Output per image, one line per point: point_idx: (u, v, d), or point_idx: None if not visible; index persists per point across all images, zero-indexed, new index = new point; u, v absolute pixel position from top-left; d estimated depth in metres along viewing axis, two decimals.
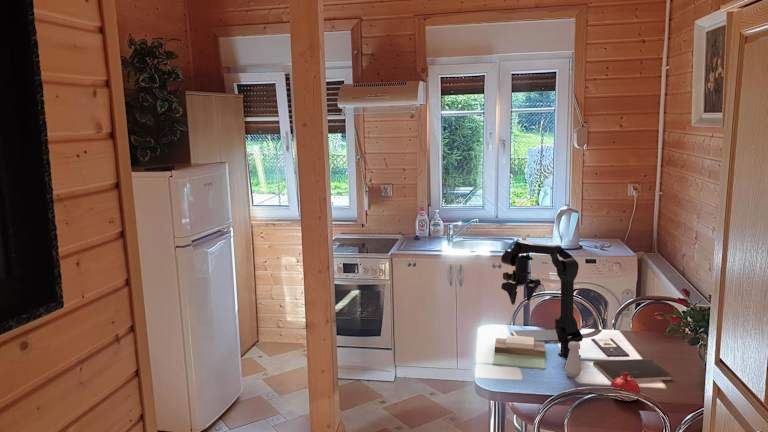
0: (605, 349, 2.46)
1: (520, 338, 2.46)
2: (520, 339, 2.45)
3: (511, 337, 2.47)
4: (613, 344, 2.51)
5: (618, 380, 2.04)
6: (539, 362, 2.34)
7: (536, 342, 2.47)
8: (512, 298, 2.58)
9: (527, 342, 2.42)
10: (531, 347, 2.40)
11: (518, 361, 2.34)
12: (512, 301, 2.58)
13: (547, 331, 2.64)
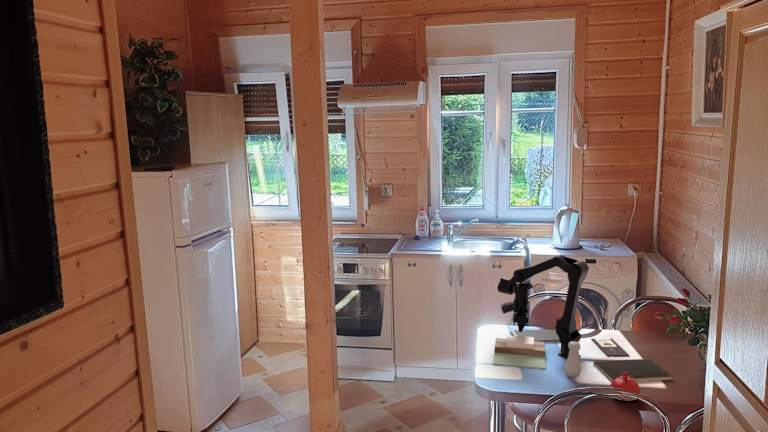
0: (605, 349, 2.46)
1: (520, 338, 2.46)
2: (520, 339, 2.45)
3: (511, 337, 2.47)
4: (613, 344, 2.51)
5: (618, 380, 2.04)
6: (539, 362, 2.34)
7: (536, 342, 2.47)
8: (522, 325, 2.52)
9: (527, 342, 2.42)
10: (531, 347, 2.40)
11: (518, 361, 2.34)
12: (521, 328, 2.53)
13: (547, 331, 2.64)
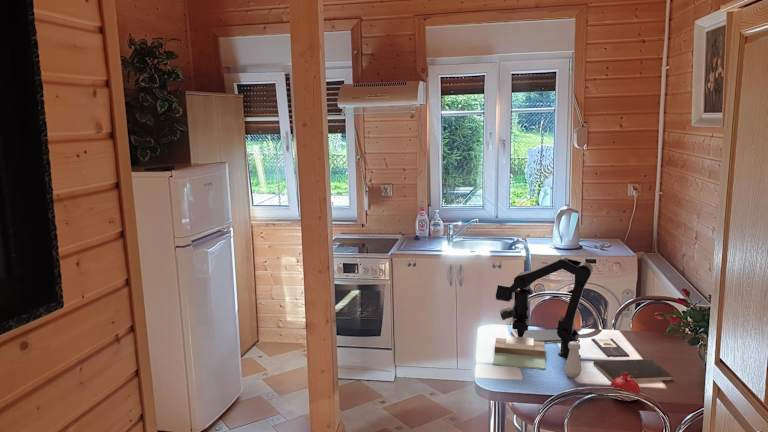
0: (605, 349, 2.46)
1: (519, 339, 2.45)
2: (520, 340, 2.44)
3: (511, 338, 2.46)
4: (613, 344, 2.51)
5: (618, 380, 2.04)
6: (539, 362, 2.34)
7: (536, 342, 2.47)
8: (521, 332, 2.47)
9: (527, 343, 2.41)
10: (531, 348, 2.39)
11: (518, 361, 2.34)
12: (520, 335, 2.48)
13: (547, 331, 2.65)
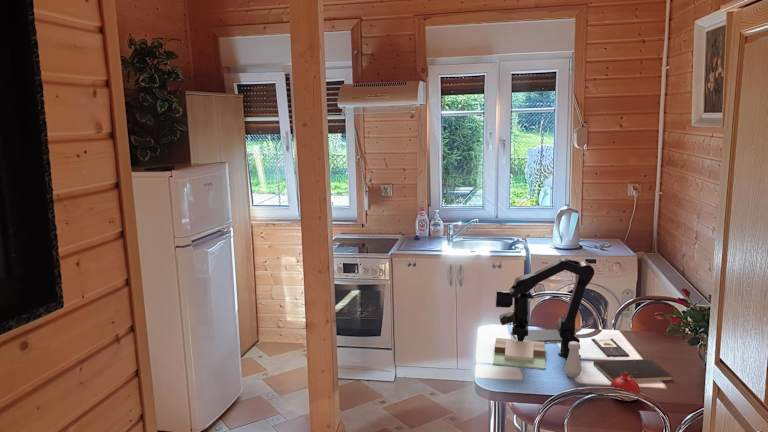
0: (605, 349, 2.46)
1: (519, 347, 2.39)
2: (520, 347, 2.38)
3: (510, 344, 2.40)
4: (613, 344, 2.51)
5: (618, 380, 2.04)
6: (539, 362, 2.34)
7: (536, 342, 2.47)
8: (521, 338, 2.41)
9: (526, 354, 2.35)
10: (530, 359, 2.35)
11: (518, 361, 2.34)
12: None
13: (547, 331, 2.65)
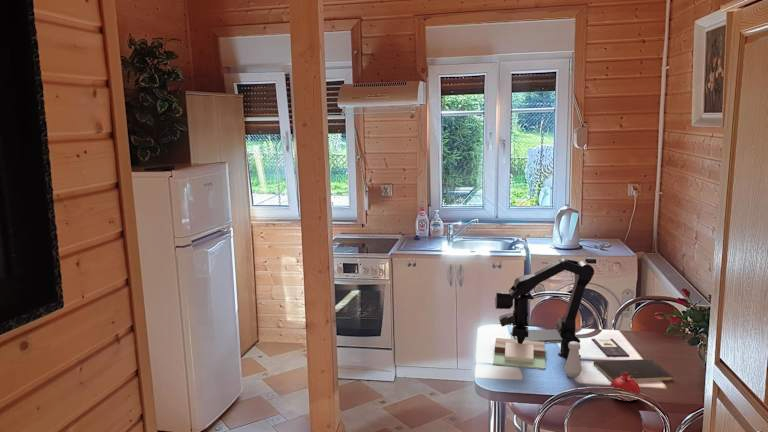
0: (605, 349, 2.46)
1: (519, 349, 2.38)
2: (520, 349, 2.37)
3: (510, 346, 2.39)
4: (613, 344, 2.51)
5: (618, 380, 2.04)
6: (539, 362, 2.34)
7: (536, 342, 2.47)
8: (521, 339, 2.39)
9: (526, 355, 2.34)
10: (531, 361, 2.33)
11: (518, 361, 2.34)
12: (520, 342, 2.40)
13: (547, 331, 2.65)
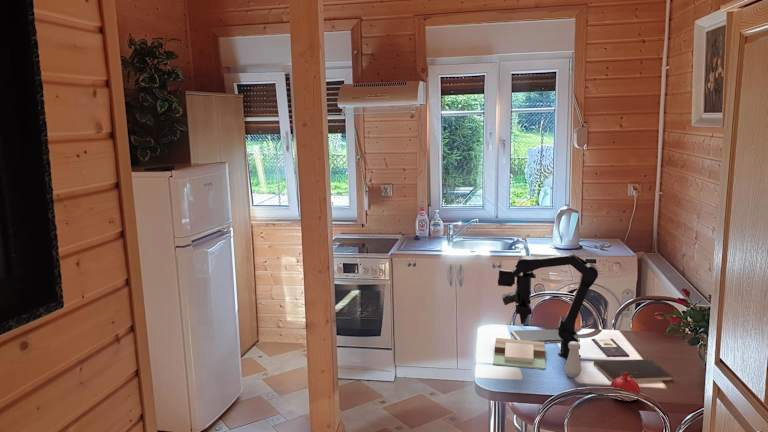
0: (605, 349, 2.46)
1: (519, 349, 2.38)
2: (520, 349, 2.37)
3: (510, 346, 2.39)
4: (613, 344, 2.51)
5: (618, 380, 2.04)
6: (539, 362, 2.34)
7: (536, 342, 2.47)
8: (524, 317, 2.42)
9: (526, 355, 2.34)
10: (531, 361, 2.33)
11: (518, 361, 2.34)
12: (523, 320, 2.42)
13: (547, 331, 2.65)
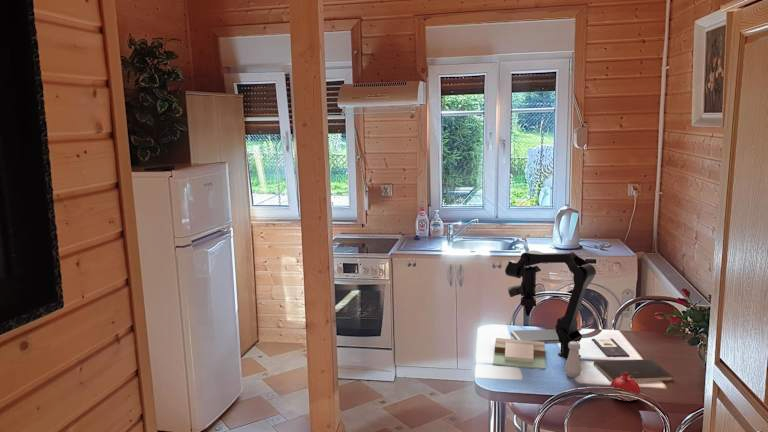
0: (605, 349, 2.46)
1: (519, 349, 2.38)
2: (520, 349, 2.37)
3: (510, 346, 2.39)
4: (613, 344, 2.51)
5: (618, 380, 2.04)
6: (539, 362, 2.34)
7: (536, 342, 2.47)
8: (529, 309, 2.51)
9: (526, 355, 2.34)
10: (531, 361, 2.33)
11: (518, 361, 2.34)
12: (528, 312, 2.52)
13: (546, 331, 2.65)
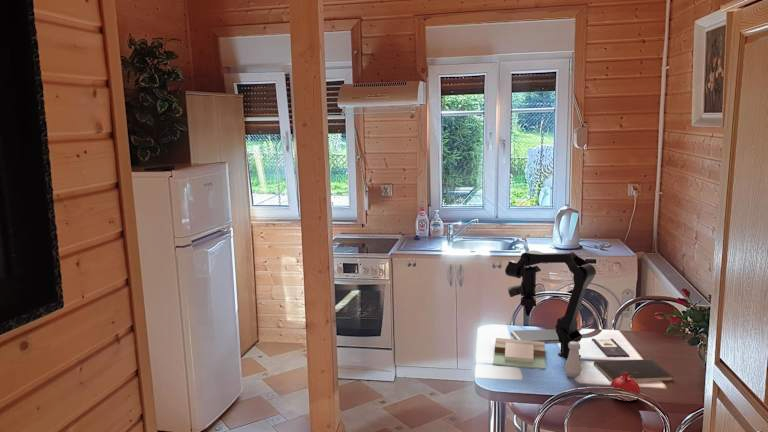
0: (605, 349, 2.46)
1: (519, 349, 2.38)
2: (520, 349, 2.37)
3: (510, 346, 2.39)
4: (613, 344, 2.51)
5: (618, 380, 2.04)
6: (539, 362, 2.34)
7: (536, 342, 2.47)
8: (529, 309, 2.51)
9: (526, 355, 2.34)
10: (531, 361, 2.33)
11: (518, 361, 2.34)
12: (528, 312, 2.52)
13: (546, 331, 2.65)
